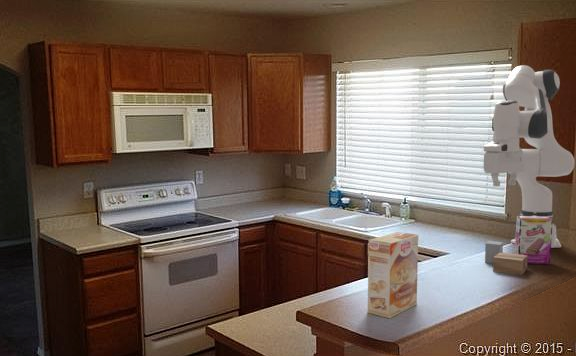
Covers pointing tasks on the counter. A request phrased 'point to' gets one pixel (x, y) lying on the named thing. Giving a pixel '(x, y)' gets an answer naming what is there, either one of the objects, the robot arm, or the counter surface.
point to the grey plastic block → (492, 250)
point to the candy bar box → (534, 238)
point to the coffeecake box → (392, 274)
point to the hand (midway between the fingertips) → (504, 185)
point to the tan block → (510, 263)
